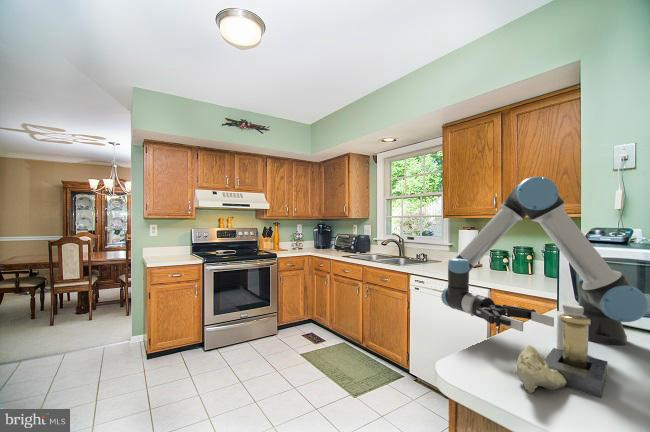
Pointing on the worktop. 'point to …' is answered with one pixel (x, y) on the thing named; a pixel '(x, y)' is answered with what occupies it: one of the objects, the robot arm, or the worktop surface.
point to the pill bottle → (567, 310)
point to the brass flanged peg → (575, 340)
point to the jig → (580, 373)
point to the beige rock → (537, 371)
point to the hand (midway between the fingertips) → (538, 324)
